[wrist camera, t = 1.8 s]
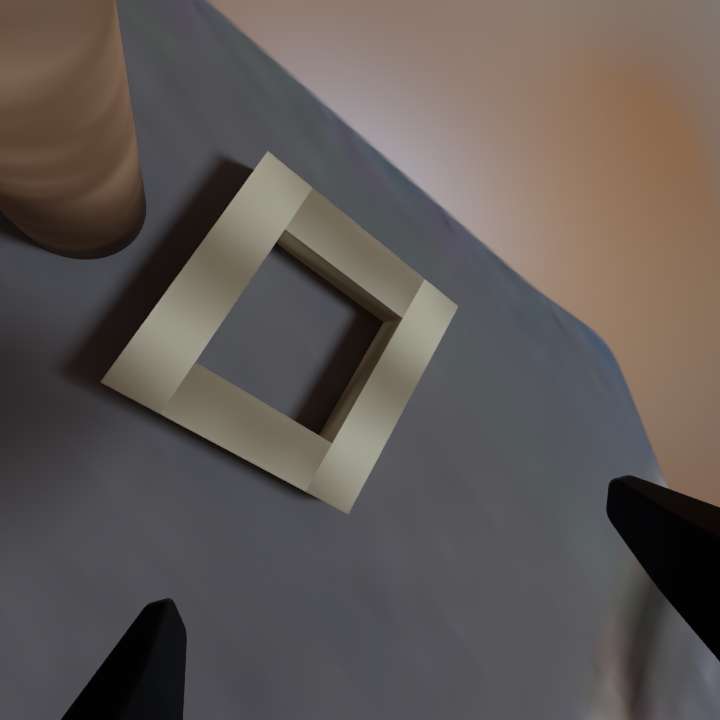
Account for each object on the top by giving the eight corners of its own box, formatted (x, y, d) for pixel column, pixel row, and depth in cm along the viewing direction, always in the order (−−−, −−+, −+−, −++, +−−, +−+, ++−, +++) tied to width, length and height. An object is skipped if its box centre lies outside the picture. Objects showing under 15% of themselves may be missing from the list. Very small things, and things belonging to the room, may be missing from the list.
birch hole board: (332, 501, 21) (348, 514, 19) (108, 380, 17) (100, 382, 15) (435, 311, 23) (458, 306, 21) (258, 171, 20) (267, 151, 18)
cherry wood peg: (56, 280, 16) (-205, 76, 5) (-24, 166, 16) (-562, -397, 4) (169, 229, 18) (166, -14, 7) (102, 123, 17) (-35, -369, 6)
